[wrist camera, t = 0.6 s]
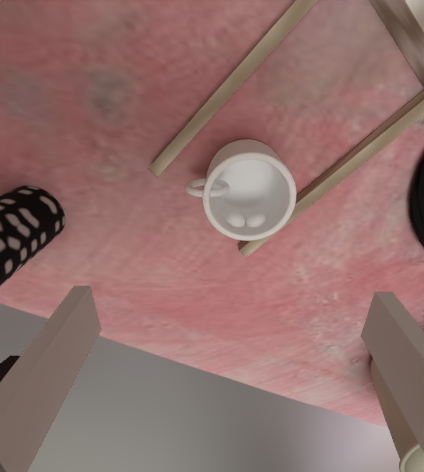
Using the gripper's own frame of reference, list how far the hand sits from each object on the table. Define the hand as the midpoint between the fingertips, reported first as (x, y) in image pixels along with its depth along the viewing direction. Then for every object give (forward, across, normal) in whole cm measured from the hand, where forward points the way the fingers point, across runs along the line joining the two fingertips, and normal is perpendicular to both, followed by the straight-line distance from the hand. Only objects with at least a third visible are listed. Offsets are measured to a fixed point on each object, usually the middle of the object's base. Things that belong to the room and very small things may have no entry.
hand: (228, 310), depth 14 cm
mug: (+27, +1, -1) cm, 27 cm away
